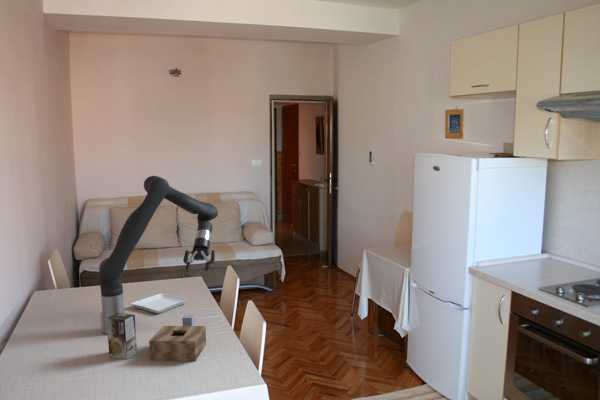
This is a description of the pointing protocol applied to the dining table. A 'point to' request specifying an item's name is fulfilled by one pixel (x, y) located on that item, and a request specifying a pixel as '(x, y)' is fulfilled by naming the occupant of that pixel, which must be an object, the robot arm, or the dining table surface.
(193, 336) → the wooden socket block
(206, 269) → the robot arm
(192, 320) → the slate peg
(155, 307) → the salad plate
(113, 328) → the coffee box
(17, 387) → the dining table surface
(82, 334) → the dining table surface
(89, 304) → the dining table surface
